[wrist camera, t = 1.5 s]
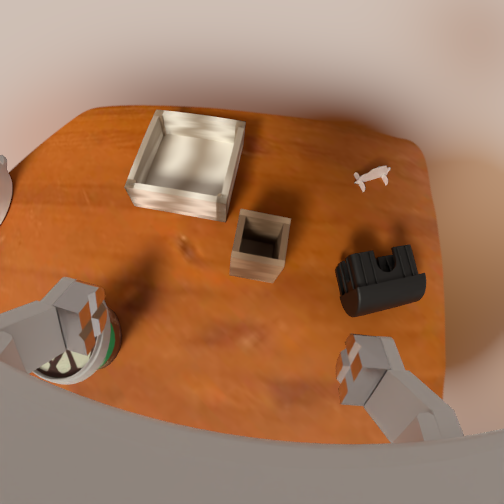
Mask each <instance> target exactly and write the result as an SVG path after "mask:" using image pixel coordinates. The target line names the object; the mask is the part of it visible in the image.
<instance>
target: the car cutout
mask: <svg viewBox="0 0 504 504" xmlns="http://www.w3.org/2000/svg"><path fill="white" fill-rule="evenodd" d="M390 169H391V168H390V167H388V168H387V166H381V167H380V166H378V167H377V168H374V169H372V170H371V171H370V172H368V173H366V174H363V175H362V176H359V174H358V173H357V172H355V173H354V177H355V178H356V180H357V181H356V182H355V183H357V184H359V186H360V188H361V190H362V191H363V192H364V191H365V185H364V183H363V182H366V181H369V180H373V179H376V178H380V177H381V178H382V180H383V182H384V183H385V185H387V184H388V178H387V177H386V174H388V172H389V170H390Z"/></svg>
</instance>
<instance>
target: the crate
mask: <svg viewBox="0 0 504 504" xmlns="http://www.w3.org/2000/svg"><path fill="white" fill-rule="evenodd" d="M245 125H246V122H244V121H239V120H233V119H226V118H220V117H213V116H206V115H198V114H191V113H182V112H173V111H164V110H156V111H155V114H154V116H153V118H152V120H151V123H150V125H149V127H148V129H147V132H146V134H145V136H144V139H143V141H142V143H141V146H140V148H139V151H138V153H137V156H136V158H135V161H134V163H133V166H132V168H131V171H130V174H129V176H128V179H127V182H126V184H125V189H126V191H127V193H128V195H129V196H130V198H131V200H132V202H133V204H134V205H135V206H137V207H143V208H149V209H155V210H161V211H166V212H172V213H178V214H183V215H189V216H194V217H200V218H205V219H211V220H216V221H221V222H226V218H227V213H228V209H229V204H230V200H231V196H232V191H233V187H234V182H235V178H236V174H237V169H238V165H239V161H240V156H241V152H242V148H243V143H244V134H245Z"/></svg>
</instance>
